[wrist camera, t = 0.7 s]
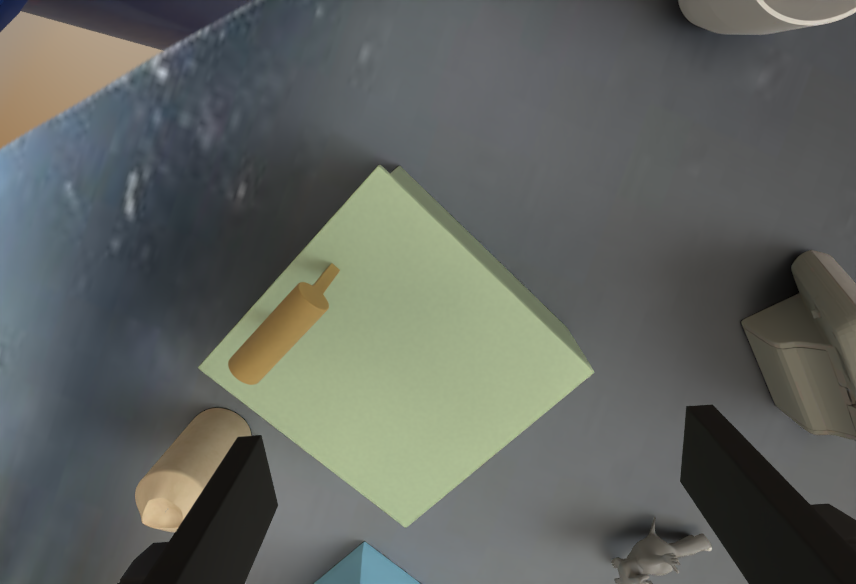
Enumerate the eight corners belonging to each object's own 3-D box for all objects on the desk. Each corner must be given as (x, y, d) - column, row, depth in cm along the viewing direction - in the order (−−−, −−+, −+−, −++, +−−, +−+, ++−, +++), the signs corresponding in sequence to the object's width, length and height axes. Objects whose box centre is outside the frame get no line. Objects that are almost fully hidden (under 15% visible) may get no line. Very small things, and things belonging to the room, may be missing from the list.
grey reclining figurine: (681, 577, 48) (604, 606, 45) (653, 513, 51) (578, 537, 48) (760, 575, 40) (671, 611, 37) (721, 498, 42) (635, 526, 40)
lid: (202, 362, 34) (136, 427, 27) (380, 163, 29) (359, 176, 22) (406, 520, 38) (397, 615, 31) (591, 366, 33) (634, 434, 26)
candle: (206, 464, 45) (144, 554, 36) (181, 414, 44) (108, 494, 34) (261, 451, 45) (212, 539, 35) (238, 400, 43) (179, 478, 33)
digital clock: (866, 410, 41) (1003, 501, 31) (756, 437, 43) (854, 534, 33) (854, 231, 37) (1010, 270, 27) (731, 267, 38) (835, 318, 28)
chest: (248, 331, 41) (212, 369, 34) (399, 165, 36) (389, 173, 30) (411, 463, 44) (406, 520, 38) (567, 327, 40) (591, 366, 33)
